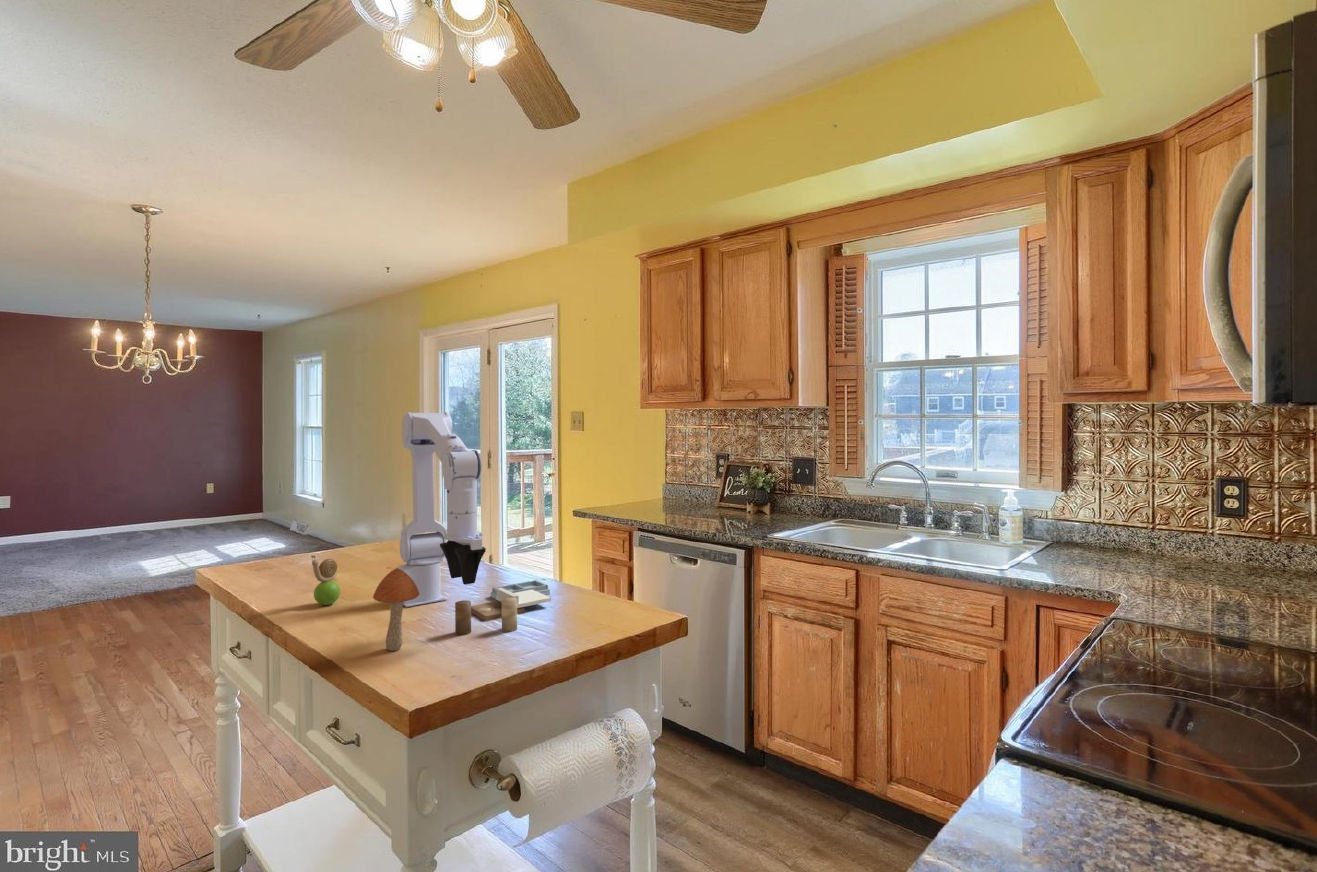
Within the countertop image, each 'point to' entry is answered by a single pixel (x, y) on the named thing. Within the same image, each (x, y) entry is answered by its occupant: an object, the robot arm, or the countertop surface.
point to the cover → (523, 597)
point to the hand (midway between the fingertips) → (462, 580)
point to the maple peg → (509, 614)
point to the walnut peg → (463, 617)
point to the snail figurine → (325, 581)
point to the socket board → (524, 588)
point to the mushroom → (395, 602)
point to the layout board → (491, 610)
